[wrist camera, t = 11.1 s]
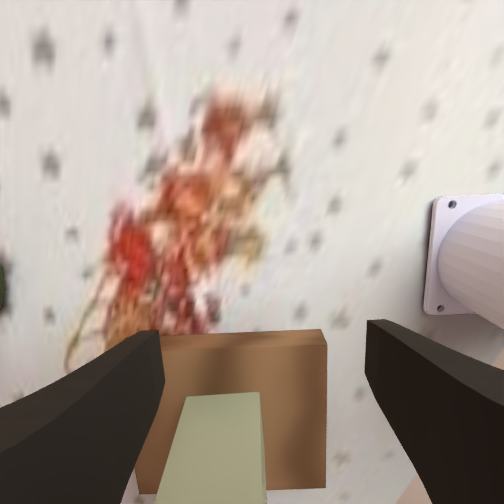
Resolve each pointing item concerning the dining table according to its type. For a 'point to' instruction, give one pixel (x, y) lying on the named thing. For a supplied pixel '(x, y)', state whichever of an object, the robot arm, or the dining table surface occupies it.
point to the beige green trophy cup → (1, 287)
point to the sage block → (216, 453)
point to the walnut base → (244, 381)
